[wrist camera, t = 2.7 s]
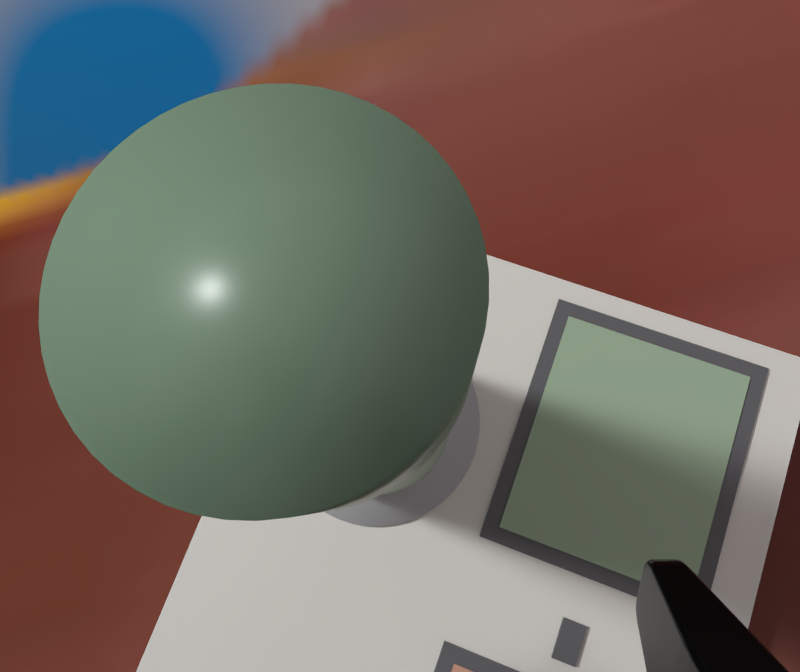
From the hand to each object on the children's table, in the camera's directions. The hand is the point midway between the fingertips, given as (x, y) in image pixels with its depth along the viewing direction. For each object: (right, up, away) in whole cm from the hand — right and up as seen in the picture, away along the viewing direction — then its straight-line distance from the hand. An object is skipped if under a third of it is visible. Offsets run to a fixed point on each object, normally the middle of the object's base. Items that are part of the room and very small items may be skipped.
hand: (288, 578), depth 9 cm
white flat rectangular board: (+3, -4, +10) cm, 11 cm away
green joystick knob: (+1, +1, +10) cm, 10 cm away
